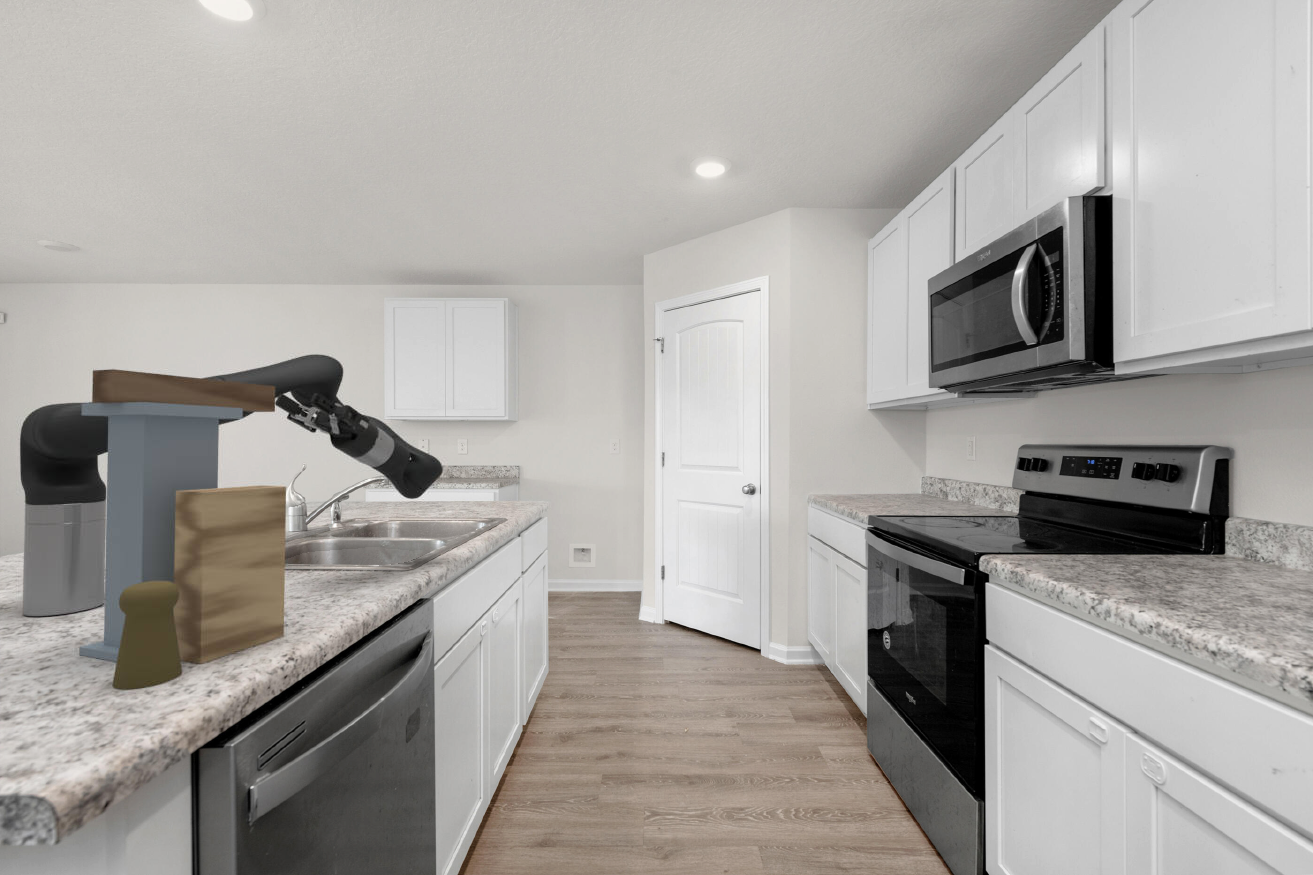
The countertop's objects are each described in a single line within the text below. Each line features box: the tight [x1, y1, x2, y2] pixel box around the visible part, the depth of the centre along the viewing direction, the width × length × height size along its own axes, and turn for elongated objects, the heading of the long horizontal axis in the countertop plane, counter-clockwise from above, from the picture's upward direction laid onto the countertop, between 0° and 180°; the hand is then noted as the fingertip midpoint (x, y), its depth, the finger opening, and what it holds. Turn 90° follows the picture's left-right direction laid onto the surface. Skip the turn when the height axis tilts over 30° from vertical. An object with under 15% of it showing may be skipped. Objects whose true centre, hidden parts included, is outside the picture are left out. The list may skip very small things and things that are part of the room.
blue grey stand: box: [78, 402, 243, 663], centre depth 78 cm, size 12×12×32 cm
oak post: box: [174, 485, 287, 665], centre depth 77 cm, size 5×11×21 cm, turn 162°
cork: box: [112, 581, 183, 691], centre depth 67 cm, size 6×6×11 cm
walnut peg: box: [91, 368, 276, 413], centre depth 81 cm, size 4×21×4 cm, turn 162°
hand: (295, 398), depth 101 cm, fingers open, 8 cm apart
